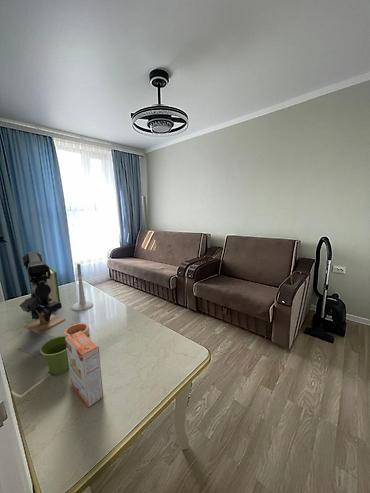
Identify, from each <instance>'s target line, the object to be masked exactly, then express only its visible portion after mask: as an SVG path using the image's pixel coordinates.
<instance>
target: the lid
mask: <svg viewBox="0 0 370 493" xmlns="http://www.w3.org/2000/svg"><path fill="white" fill-rule="evenodd" d="M64 322H66V318H64V317H60V316H58V315H54V314H53V313H52V314H51V316H50V319H49V321H47V322H46V320H45V317H44V314H43V312H41V313H39V319H37V320H35V319H34V320H33V321H31V322H29V323H27V324H24V325H23V327H24V329H27V330H30V331H32V332H34V333H36V334H39V335H43V334H45V333H46V332H47V331H49V330H51V329H52V328H55V327H56V326H58V325H60V324H62V323H64Z"/></svg>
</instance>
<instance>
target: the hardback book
mask: <svg viewBox="0 0 370 493" xmlns="http://www.w3.org/2000/svg"><path fill="white" fill-rule="evenodd" d="M48 267H49V268H50V272H51V276H50V279H47V283H48V284H49V286H50V288H51V293H50V294H49V298H51V299H52V301H49V303H51V302H54V301H56V302H59V303H61V297H60V289H59V282H58V274H57V271H56V270H55V269H54V268H53V267H52V266H50V265H48ZM46 273H47V272H46ZM42 276H45V275H42ZM47 276H48V275H47Z"/></svg>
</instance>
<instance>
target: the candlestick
mask: <svg viewBox="0 0 370 493" xmlns="http://www.w3.org/2000/svg"><path fill="white" fill-rule="evenodd" d="M76 267H77V268H76V269H77V273H76V276H77V278H78V302H76V303H74V304H73V305H72V307H71V310H72V311H74V312H84V311H87V310H90V309H92V308H93V307H94V302H93V301H90V300H86V296H85V290H84V285H83V273H82V268H81V263H76Z"/></svg>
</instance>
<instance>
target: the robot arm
mask: <svg viewBox="0 0 370 493" xmlns="http://www.w3.org/2000/svg"><path fill="white" fill-rule="evenodd" d="M21 259H22V260H21V261H22V266H23V267H24V270H26V271H27V275H28V276H27V277H28V281H29V283H31V288H32V292H31V294H30V297H29V298H26V299H25V300H24V301H23V302H21V303H20V304H19V307H20V308H21V310H22V311H23V312H26V313H30V314H31V315H30V316H31V319H32V320H34V321H35V320H37V319H39V313H41V312H43V314H44V317H45V320H46V322H47V321H49V319H50V316H51V314H52V315H53V312H56V311H58V310H61V309H62V307H63V305H62V303H61V302H60V303H59V302H56V301H54V302H51V303H49V301H52V299H51V298H49V294H50V293H51V288H50V286H49V284H48V283H47V279H50V276H51V272H50V268H49V267H48V266H49V265H48V264H46V262H45V261H43V256H42V254H40V253H39V251H34V250H33V251H27V252H26V254H25V255H24V256H22V258H21ZM46 272H47V273H46ZM42 275H45V276H42ZM47 275H48V276H47Z"/></svg>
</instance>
